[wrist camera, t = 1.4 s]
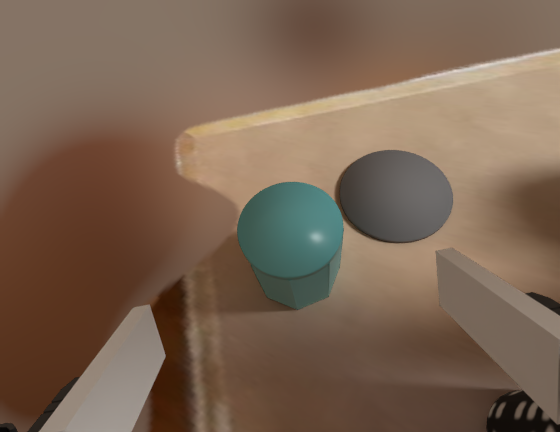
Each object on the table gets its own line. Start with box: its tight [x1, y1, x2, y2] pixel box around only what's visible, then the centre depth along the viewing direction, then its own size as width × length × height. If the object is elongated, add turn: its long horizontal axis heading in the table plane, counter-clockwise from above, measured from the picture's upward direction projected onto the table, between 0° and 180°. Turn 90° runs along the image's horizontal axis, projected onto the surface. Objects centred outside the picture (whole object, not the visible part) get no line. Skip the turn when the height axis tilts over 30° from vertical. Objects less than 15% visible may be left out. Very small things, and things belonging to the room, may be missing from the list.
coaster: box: [340, 150, 453, 243], centre depth 44 cm, size 14×14×1 cm
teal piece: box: [237, 182, 344, 310], centre depth 36 cm, size 10×10×11 cm
